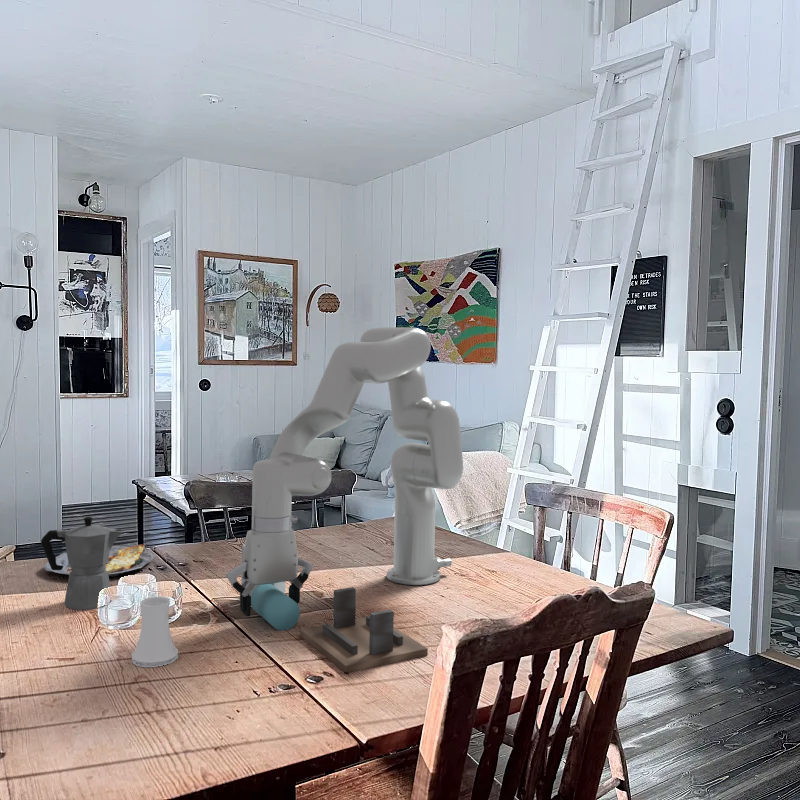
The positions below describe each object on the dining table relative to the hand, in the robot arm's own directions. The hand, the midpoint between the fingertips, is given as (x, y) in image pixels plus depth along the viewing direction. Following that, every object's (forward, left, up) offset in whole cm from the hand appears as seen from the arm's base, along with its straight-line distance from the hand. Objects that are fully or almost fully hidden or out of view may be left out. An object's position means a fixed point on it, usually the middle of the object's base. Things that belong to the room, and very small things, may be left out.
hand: (270, 610), depth 151 cm
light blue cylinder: (0, 0, -2) cm, 2 cm away
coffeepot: (+30, -28, -2) cm, 41 cm away
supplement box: (-3, -12, -2) cm, 13 cm away
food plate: (+22, -54, -3) cm, 58 cm away
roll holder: (-10, +19, -2) cm, 22 cm away
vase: (+24, +8, -2) cm, 25 cm away
